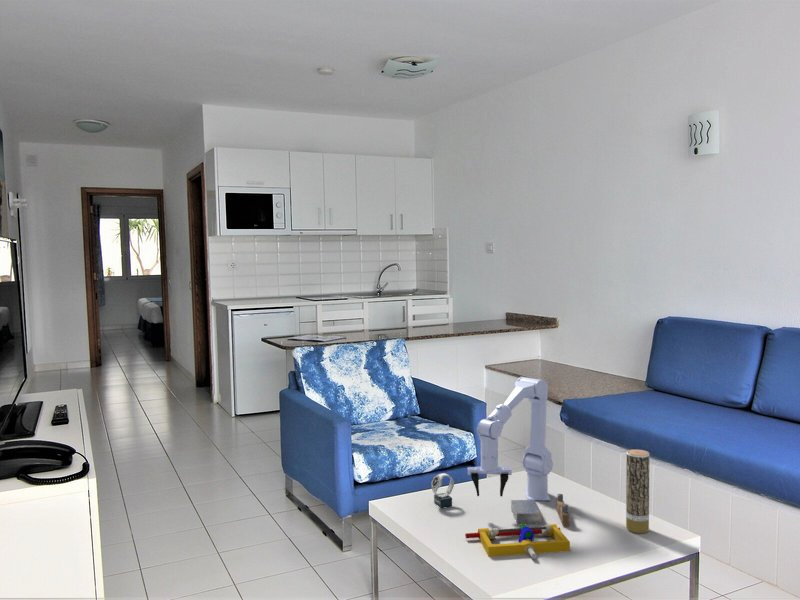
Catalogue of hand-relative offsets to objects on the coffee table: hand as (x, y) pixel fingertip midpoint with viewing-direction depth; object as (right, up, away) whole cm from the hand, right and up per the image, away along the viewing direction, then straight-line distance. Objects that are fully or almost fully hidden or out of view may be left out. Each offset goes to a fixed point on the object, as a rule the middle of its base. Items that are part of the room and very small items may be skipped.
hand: (489, 495), depth 226 cm
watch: (-15, -7, +12) cm, 20 cm away
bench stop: (+24, -7, -2) cm, 25 cm away
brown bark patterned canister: (+45, -8, -12) cm, 48 cm away
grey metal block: (+12, -8, -1) cm, 14 cm away
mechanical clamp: (+6, -10, -23) cm, 26 cm away
